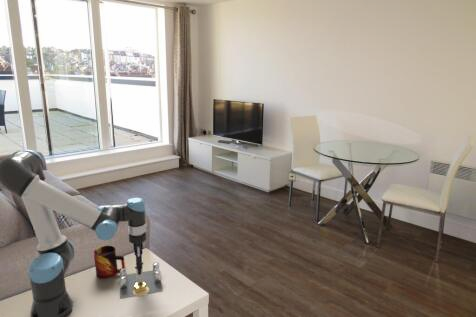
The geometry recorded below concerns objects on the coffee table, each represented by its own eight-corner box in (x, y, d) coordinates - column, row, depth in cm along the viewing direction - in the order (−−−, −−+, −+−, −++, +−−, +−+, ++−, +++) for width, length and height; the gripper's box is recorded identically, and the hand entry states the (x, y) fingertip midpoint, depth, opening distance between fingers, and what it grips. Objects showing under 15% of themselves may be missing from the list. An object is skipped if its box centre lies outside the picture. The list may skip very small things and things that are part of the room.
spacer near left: (120, 289, 152) (119, 280, 151) (120, 285, 155) (119, 276, 154) (127, 288, 153) (126, 278, 152) (127, 284, 156) (126, 275, 155)
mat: (120, 300, 146) (119, 299, 146) (120, 276, 163) (120, 275, 163) (162, 292, 151) (162, 291, 151) (158, 270, 168) (158, 269, 168)
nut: (134, 293, 150) (134, 288, 149) (134, 287, 154) (133, 282, 153) (146, 291, 151) (146, 286, 151) (145, 285, 155) (145, 280, 155)
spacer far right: (153, 275, 163) (152, 266, 162) (152, 272, 166) (152, 262, 165) (159, 274, 164) (159, 265, 163) (159, 271, 167) (158, 261, 166)
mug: (125, 276, 162) (123, 253, 159) (94, 280, 159) (91, 257, 156) (127, 265, 171) (125, 243, 169) (98, 269, 169) (95, 247, 166)
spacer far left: (120, 280, 159) (119, 271, 157) (120, 277, 162) (119, 267, 160) (127, 279, 160) (126, 270, 158) (127, 276, 162) (126, 266, 161)
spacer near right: (154, 284, 157) (154, 274, 156) (154, 280, 160) (153, 270, 158) (161, 282, 158) (160, 273, 156) (160, 279, 160) (160, 269, 159)
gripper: (146, 238, 147) (149, 285, 153) (145, 225, 159) (147, 270, 165) (128, 240, 145) (131, 288, 151) (128, 226, 157) (131, 272, 163)
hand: (139, 278), depth 158 cm, fingers closed
